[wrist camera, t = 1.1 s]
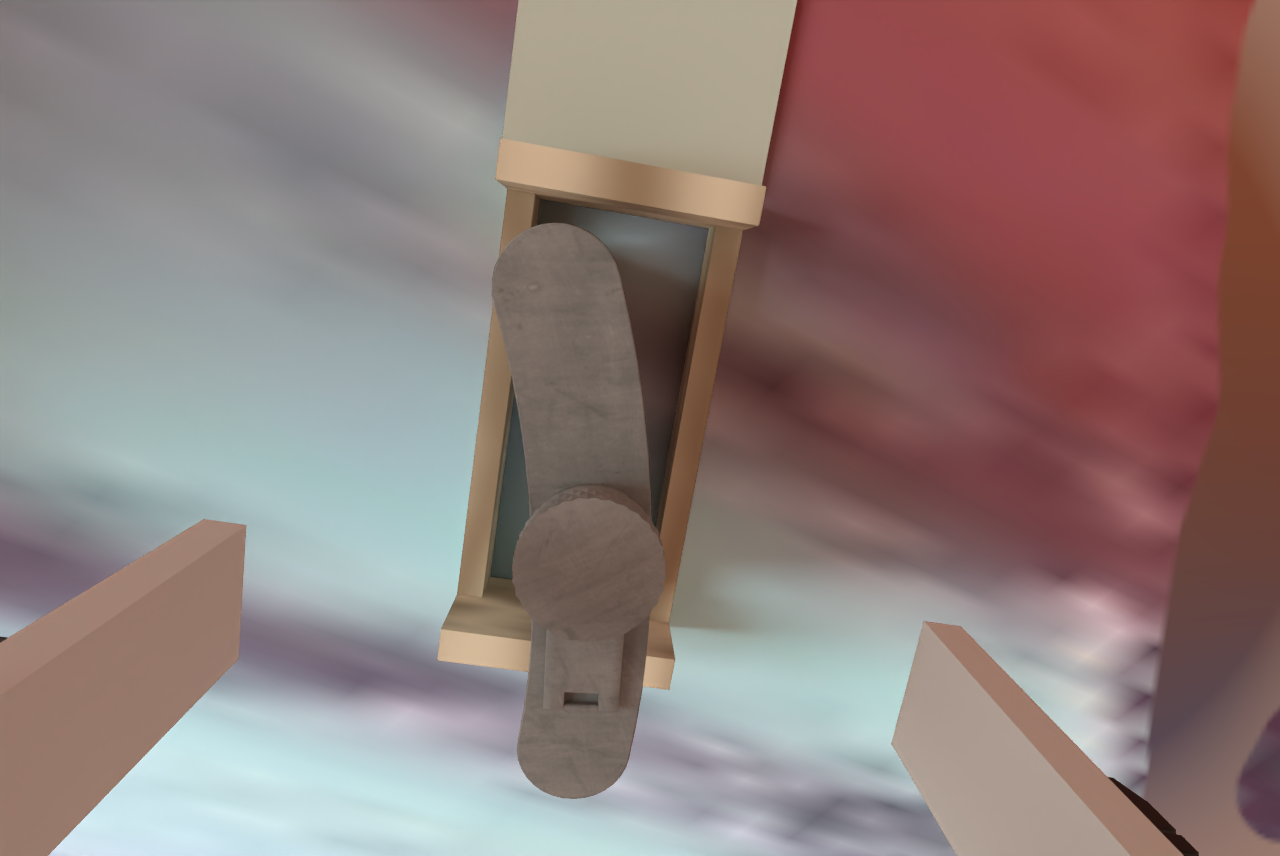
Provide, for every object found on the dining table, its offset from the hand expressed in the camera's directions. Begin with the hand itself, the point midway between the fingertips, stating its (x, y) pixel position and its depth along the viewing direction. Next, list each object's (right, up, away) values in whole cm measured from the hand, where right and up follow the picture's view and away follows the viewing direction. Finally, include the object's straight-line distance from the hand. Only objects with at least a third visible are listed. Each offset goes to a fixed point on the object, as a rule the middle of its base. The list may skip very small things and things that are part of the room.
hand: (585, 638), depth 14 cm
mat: (+2, +23, +18) cm, 30 cm away
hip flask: (-1, +5, +22) cm, 23 cm away
